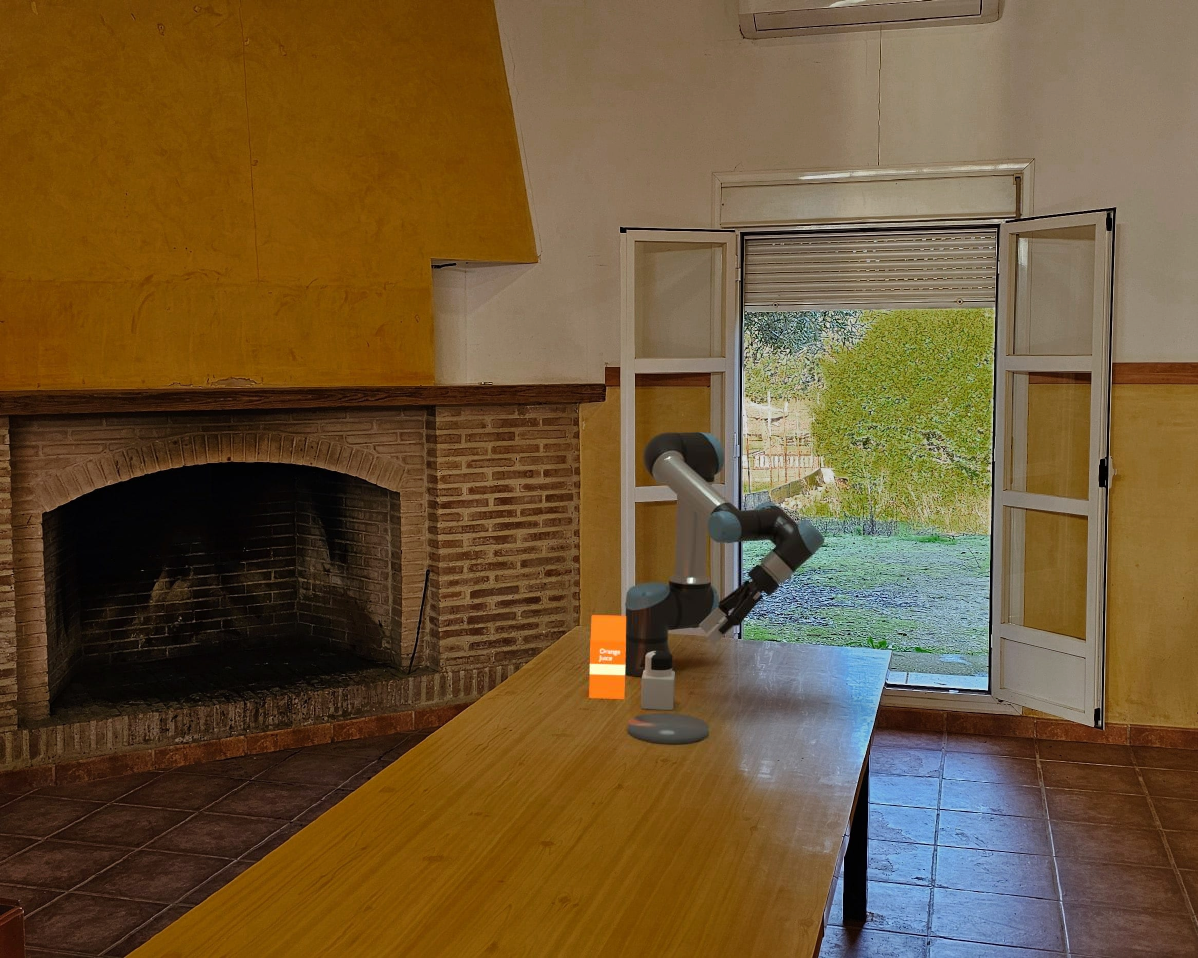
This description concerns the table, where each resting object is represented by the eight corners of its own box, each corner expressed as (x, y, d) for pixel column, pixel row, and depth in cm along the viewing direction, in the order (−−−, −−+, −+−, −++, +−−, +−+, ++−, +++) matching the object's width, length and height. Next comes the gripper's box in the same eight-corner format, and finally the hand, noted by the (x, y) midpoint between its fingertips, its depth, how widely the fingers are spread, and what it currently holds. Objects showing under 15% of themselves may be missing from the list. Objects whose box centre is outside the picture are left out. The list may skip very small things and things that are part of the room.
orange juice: (624, 698, 276) (626, 619, 274) (588, 697, 276) (590, 618, 274) (624, 690, 283) (626, 612, 282) (589, 689, 284) (591, 611, 282)
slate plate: (611, 730, 250) (611, 723, 250) (663, 714, 263) (663, 708, 263) (673, 749, 238) (673, 742, 238) (724, 732, 251) (724, 725, 251)
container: (674, 701, 274) (675, 649, 273) (673, 710, 267) (674, 657, 265) (642, 700, 275) (644, 648, 274) (640, 709, 267) (642, 655, 266)
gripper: (790, 594, 256) (723, 657, 257) (771, 576, 281) (710, 635, 282) (768, 570, 256) (701, 634, 256) (750, 555, 281) (689, 614, 281)
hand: (705, 635), depth 269 cm, fingers open, 13 cm apart
